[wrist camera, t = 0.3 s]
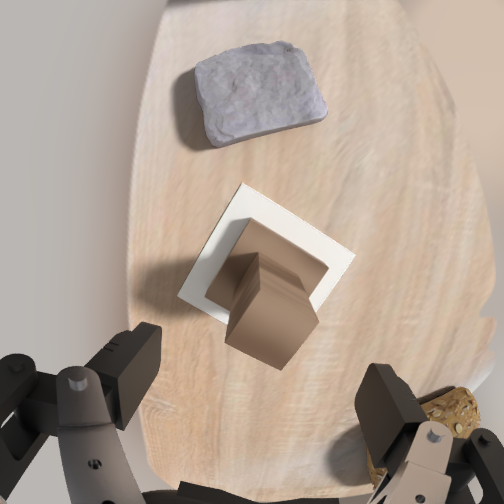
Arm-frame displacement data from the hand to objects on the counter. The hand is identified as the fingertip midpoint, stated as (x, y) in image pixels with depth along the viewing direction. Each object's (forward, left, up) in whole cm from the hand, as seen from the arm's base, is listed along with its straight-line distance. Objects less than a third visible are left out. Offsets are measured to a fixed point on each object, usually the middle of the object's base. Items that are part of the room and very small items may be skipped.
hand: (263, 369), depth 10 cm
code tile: (+2, +2, -21) cm, 21 cm away
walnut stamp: (+2, +2, -20) cm, 21 cm away
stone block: (-14, -9, -21) cm, 26 cm away
